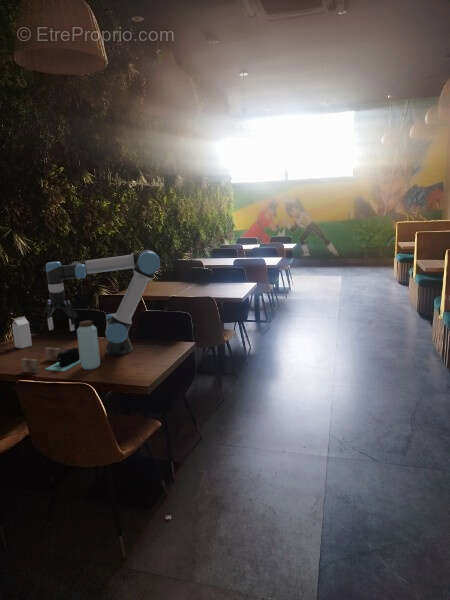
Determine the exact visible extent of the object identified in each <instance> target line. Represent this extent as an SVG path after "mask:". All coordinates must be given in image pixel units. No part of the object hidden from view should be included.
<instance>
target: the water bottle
mask: <svg viewBox="0 0 450 600" xmlns="http://www.w3.org/2000/svg"><path fill="white" fill-rule="evenodd" d="M76 334H77V342H78V343H77V344H78V350H79V358H80V366H81V368H82V369H83V370H87V371H88V370H90V371H91V370H93V369H94V370H95V369H97V368H98V367H100V365H101V357H100V349H99V347H100V346H99V339H98V328H97V327H96V326H95V325H94V323H93V320H83V321H80V322H79V326H78V328H77V329H76Z"/></svg>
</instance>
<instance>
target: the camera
mask: <svg viewBox="0 0 450 600" xmlns="http://www.w3.org/2000/svg"><path fill="white" fill-rule="evenodd" d="M79 358H80V353H79V347H75V346H74V347H72V348H69V349H65V350H61V352H60V353H58V356H57V361H56V362H59V363H60V367H65V366H68V365H70V364H72V363H74V362H76V361H79Z"/></svg>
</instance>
